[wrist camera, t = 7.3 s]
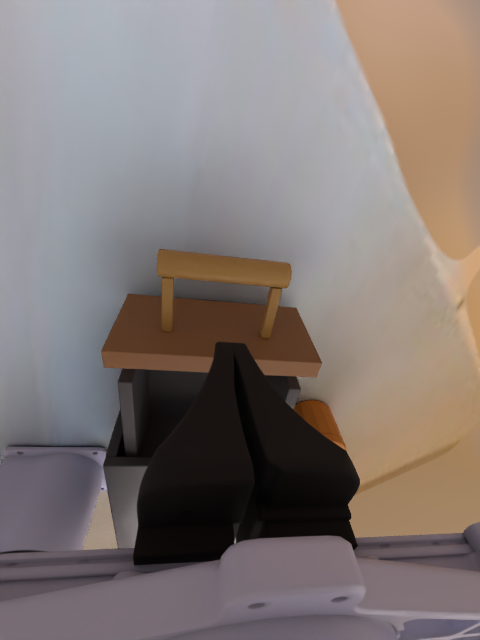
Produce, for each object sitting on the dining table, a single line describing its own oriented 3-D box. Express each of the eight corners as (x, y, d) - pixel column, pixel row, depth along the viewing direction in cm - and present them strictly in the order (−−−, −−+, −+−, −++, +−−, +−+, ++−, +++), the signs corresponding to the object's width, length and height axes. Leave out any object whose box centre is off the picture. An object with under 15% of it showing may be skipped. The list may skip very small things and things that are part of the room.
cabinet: (129, 379, 26) (102, 466, 19) (276, 385, 28) (296, 465, 22) (135, 465, 33) (117, 549, 27) (252, 465, 35) (262, 543, 29)
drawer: (123, 222, 18) (88, 262, 13) (314, 244, 20) (352, 288, 15) (135, 411, 27) (118, 479, 22) (264, 415, 29) (276, 478, 24)
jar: (280, 429, 32) (289, 471, 28) (290, 399, 29) (303, 440, 26) (322, 430, 33) (336, 471, 29) (335, 400, 30) (354, 441, 26)
